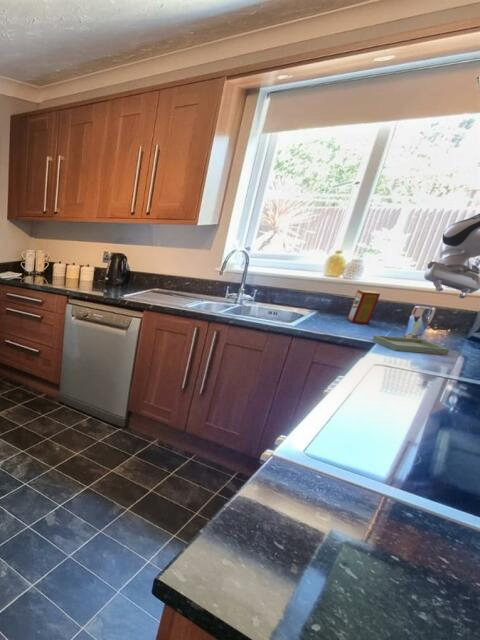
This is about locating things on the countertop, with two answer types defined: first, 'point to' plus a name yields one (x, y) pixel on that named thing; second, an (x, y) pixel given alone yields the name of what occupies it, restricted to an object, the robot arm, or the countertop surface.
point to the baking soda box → (363, 306)
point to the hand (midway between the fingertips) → (450, 293)
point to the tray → (410, 344)
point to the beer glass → (419, 321)
